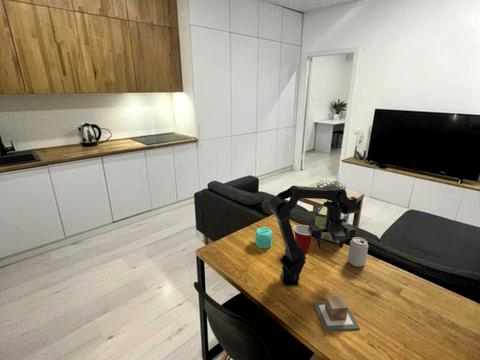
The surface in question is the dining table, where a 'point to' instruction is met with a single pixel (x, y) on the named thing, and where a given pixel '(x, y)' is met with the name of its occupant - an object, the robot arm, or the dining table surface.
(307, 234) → the plastic cup
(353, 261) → the can
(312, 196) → the robot arm
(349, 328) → the coaster
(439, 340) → the dining table surface
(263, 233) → the turquoise cylinder
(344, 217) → the protein box
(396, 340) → the dining table surface
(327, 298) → the cube
